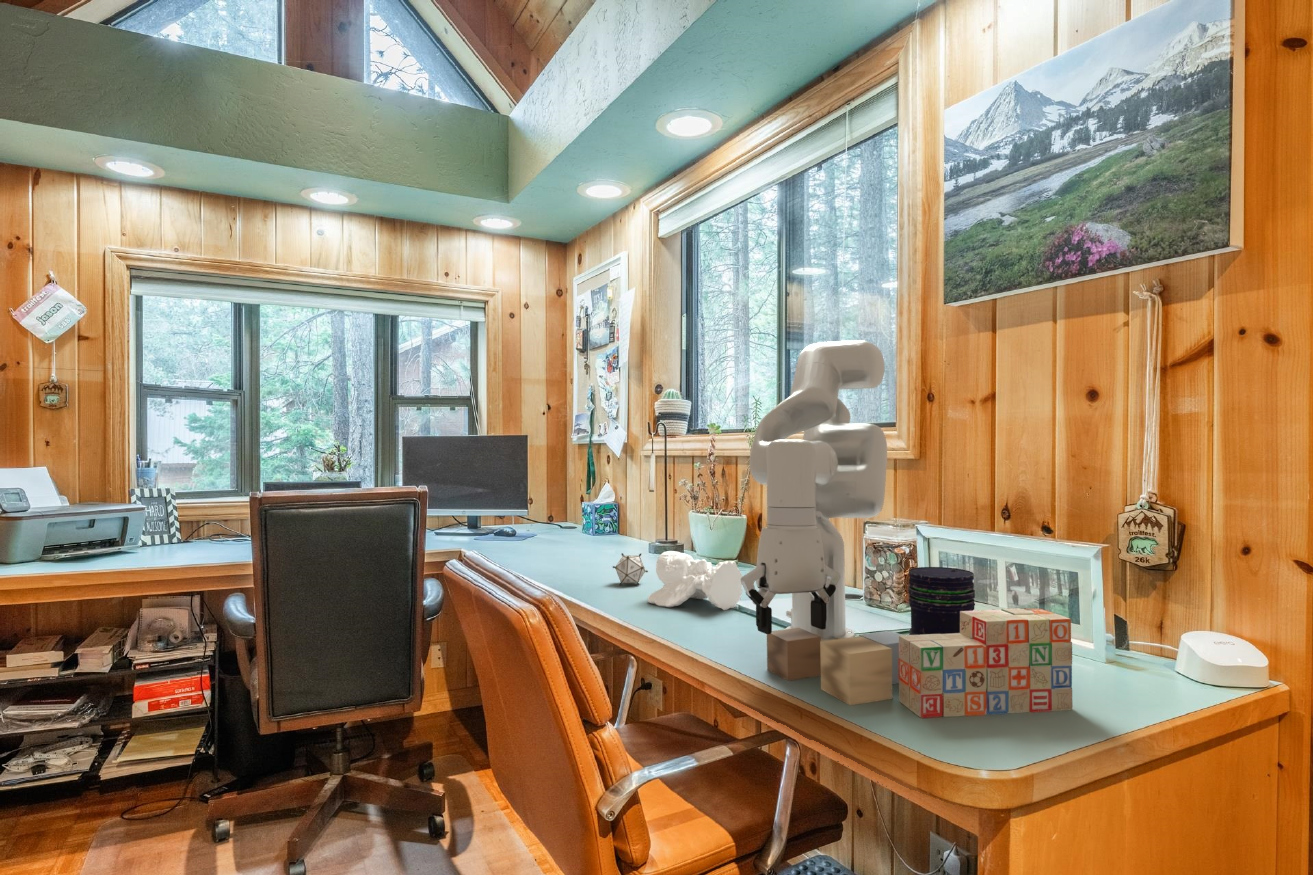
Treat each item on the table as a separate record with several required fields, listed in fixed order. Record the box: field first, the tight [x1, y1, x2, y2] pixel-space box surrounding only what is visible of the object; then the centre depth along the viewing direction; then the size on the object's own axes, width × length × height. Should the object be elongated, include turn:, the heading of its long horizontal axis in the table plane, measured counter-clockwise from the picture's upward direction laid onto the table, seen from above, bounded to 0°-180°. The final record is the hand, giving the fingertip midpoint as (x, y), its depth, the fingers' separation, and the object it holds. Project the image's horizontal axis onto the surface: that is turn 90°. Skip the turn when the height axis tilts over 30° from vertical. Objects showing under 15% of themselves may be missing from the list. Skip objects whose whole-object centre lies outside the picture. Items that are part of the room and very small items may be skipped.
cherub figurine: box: [647, 550, 744, 611], centre depth 160 cm, size 13×12×20 cm
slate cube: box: [858, 630, 902, 685], centre depth 109 cm, size 6×6×6 cm
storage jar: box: [907, 566, 976, 635], centre depth 113 cm, size 10×10×15 cm
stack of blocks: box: [898, 607, 1074, 719], centre depth 96 cm, size 21×6×12 cm, turn 97°
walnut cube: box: [766, 628, 821, 681], centre depth 111 cm, size 6×6×6 cm
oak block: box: [820, 635, 893, 706], centre depth 101 cm, size 7×7×7 cm
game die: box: [612, 552, 649, 587], centre depth 184 cm, size 9×8×10 cm
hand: (791, 629), depth 110 cm, fingers open, 9 cm apart
